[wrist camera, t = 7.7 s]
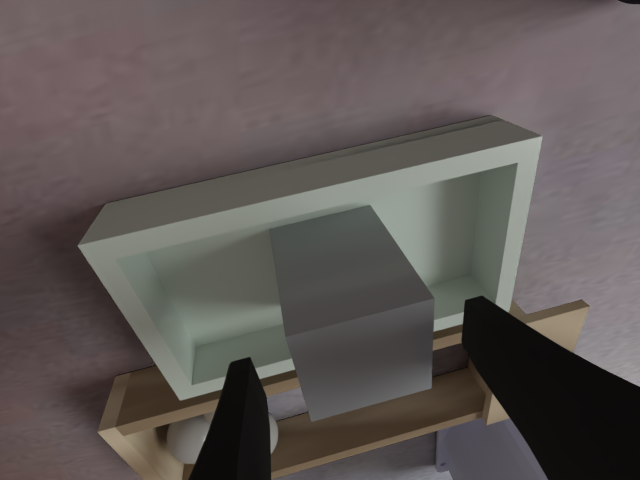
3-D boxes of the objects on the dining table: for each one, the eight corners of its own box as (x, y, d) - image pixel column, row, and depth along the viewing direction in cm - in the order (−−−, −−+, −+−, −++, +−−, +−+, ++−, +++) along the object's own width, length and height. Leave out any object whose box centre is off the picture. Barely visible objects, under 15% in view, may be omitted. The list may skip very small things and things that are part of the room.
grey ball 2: (280, 418, 24) (285, 466, 21) (235, 430, 23) (235, 480, 21) (269, 391, 22) (274, 440, 19) (221, 405, 22) (219, 456, 19)
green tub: (475, 273, 20) (509, 311, 17) (187, 349, 19) (180, 400, 16) (492, 115, 15) (542, 136, 13) (105, 203, 14) (77, 245, 11)
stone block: (377, 282, 18) (431, 388, 13) (290, 304, 17) (311, 421, 12) (370, 204, 15) (434, 298, 10) (269, 228, 15) (285, 337, 10)
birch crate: (517, 360, 25) (553, 405, 23) (178, 456, 24) (170, 518, 21) (540, 264, 21) (590, 306, 18) (115, 376, 19) (93, 443, 16)
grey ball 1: (230, 415, 22) (229, 465, 20) (182, 428, 22) (175, 481, 20) (214, 386, 21) (211, 437, 18) (162, 400, 21) (152, 454, 18)
